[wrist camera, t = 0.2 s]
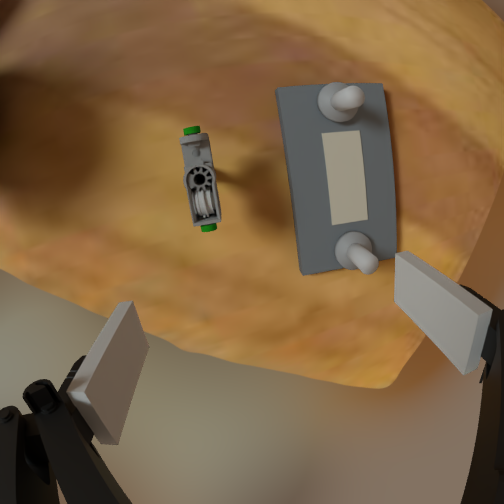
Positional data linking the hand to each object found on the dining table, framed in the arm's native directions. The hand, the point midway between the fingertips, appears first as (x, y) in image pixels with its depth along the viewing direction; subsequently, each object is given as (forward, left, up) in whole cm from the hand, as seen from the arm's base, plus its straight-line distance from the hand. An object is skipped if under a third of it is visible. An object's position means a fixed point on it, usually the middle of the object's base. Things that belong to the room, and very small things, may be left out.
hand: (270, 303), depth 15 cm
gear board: (-2, +13, -27) cm, 30 cm away
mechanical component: (-5, -4, -27) cm, 27 cm away
